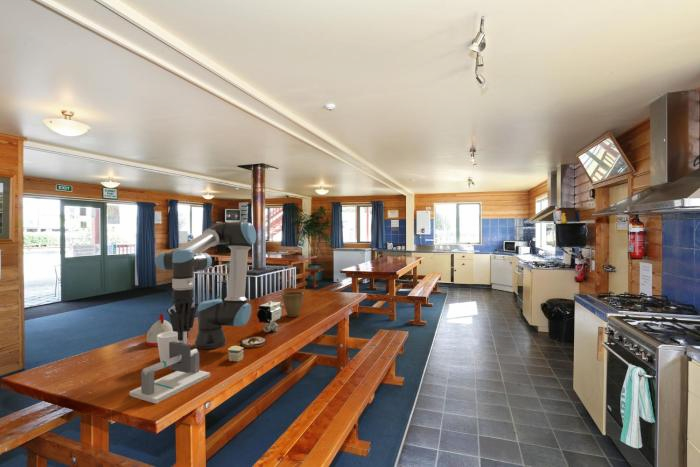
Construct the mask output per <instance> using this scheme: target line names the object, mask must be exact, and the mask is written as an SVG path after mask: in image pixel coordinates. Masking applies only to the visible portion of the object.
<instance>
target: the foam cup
mask: <svg viewBox="0 0 700 467" xmlns="http://www.w3.org/2000/svg"><path fill="white" fill-rule="evenodd" d="M172 341H174V342H179V340H178V332H175V331H169V332H164V333H160V334H158V335H157V343H158V346H157V348H158V354H159V361H160V362H161V361H165V360H167V359H169V342H172ZM160 362H159V363H160Z"/></svg>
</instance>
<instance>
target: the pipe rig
mask: <svg viewBox="0 0 700 467" xmlns="http://www.w3.org/2000/svg"><path fill="white" fill-rule="evenodd" d="M198 350H199V349H197V348H193V349H191V355H190V364H191V372H189V373H184V372H180V371H176V370H175V371H174V372H171V373H169V374H167V375H164V376H162V377H160V378H158V379H155V372H158V371H159V370H162V369H163V370H164V369H165V368H167V367H169V365H172V364H174V363H177V362H179V361H181V355H179V354H178V356H175V357H172V358H170V359H167V360H165V361H161V362H157V363H154V364H152V365H150V366H147V367H144V368H143V369H142V370H141V371H140V373H141V375H140V377H141V379H140V380H141V382H140V383H141V386H139V387H137V388H135V389H132V390H130V391H129V393H128V394H129V396H130V397H132V398H136V399H139V400H141V401H142V400H143V401H146V402H149V403H153V404H154V405H156V404H159V403H160V402H162V401H164V400H167V399H168V398H171V397H172V396H174V395H176V394H178V393H180V392H182V391H184V390H186V389H188V388H190V387H192V386H194V385H197V384H198V383H199V382H201V381H205V380H206V379H208V378H209V377H211V372H210V371H204V370H200V352H199V351H198Z"/></svg>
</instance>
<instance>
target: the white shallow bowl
mask: <svg viewBox="0 0 700 467" xmlns="http://www.w3.org/2000/svg"><path fill="white" fill-rule="evenodd" d="M266 343H267V340H266V339H265V338H264V337H262V336H252V337H248V338H244V339H242V340H241V347H243V348H248V349H254V348H257V349H258V348H261V347H263V346H265V344H266Z"/></svg>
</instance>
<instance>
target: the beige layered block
mask: <svg viewBox="0 0 700 467" xmlns="http://www.w3.org/2000/svg"><path fill="white" fill-rule="evenodd" d="M243 349H244V347H243V346H240V345H232V346H230V347H229V348H227V350H228V351H227V353H228V356H227V357H228V361H229V362H240V361H242V360H243V359H244V356H245V354H244V351H245V350H243Z"/></svg>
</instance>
